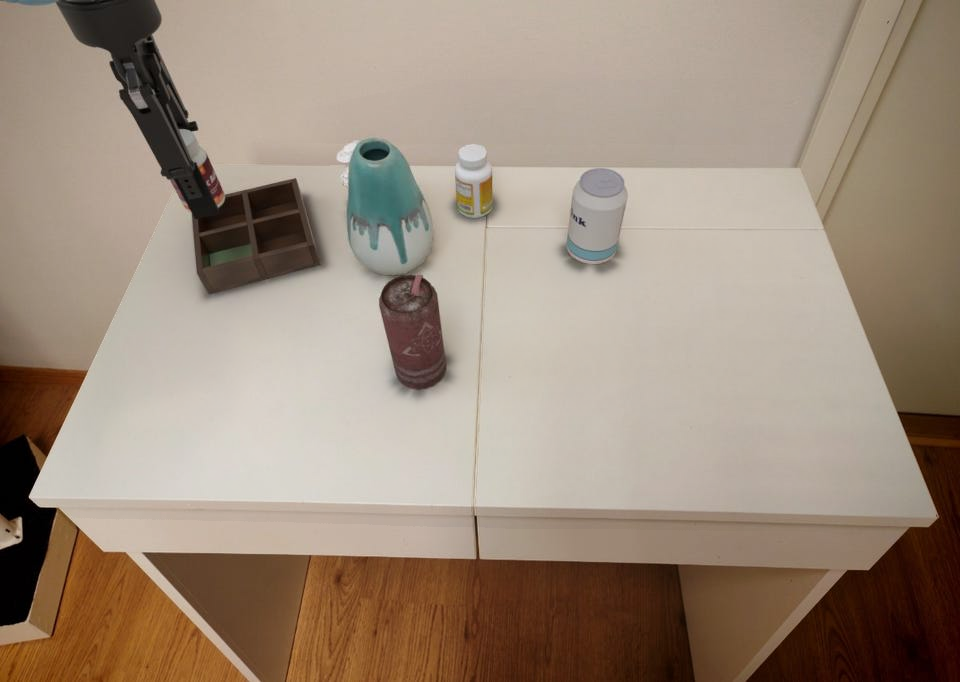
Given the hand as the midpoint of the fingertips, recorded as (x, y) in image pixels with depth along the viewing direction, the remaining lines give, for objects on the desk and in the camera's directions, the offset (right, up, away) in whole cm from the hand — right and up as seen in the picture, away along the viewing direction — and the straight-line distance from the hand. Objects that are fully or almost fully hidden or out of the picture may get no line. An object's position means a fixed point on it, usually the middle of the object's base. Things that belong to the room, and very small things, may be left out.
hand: (205, 199), depth 69 cm
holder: (0, -2, +17) cm, 17 cm away
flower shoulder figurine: (+14, +4, +21) cm, 26 cm away
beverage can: (+48, -4, +14) cm, 50 cm away
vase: (+20, -5, +15) cm, 25 cm away
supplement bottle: (+31, +4, +21) cm, 38 cm away
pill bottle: (0, 0, 0) cm, 1 cm away
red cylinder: (+25, -20, +3) cm, 32 cm away
